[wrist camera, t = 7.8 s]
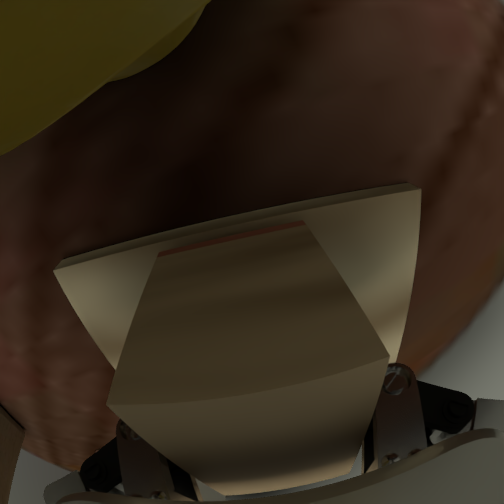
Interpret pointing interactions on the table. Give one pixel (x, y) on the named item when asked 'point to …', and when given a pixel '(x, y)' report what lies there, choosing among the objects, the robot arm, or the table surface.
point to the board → (310, 211)
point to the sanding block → (250, 362)
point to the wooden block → (8, 452)
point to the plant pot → (77, 53)
